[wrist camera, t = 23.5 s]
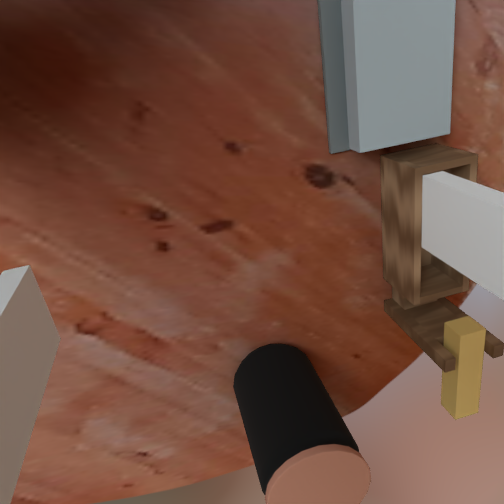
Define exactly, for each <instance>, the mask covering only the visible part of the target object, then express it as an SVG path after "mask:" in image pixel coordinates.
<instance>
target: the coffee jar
mask: <svg viewBox="0 0 504 504" xmlns="http://www.w3.org/2000/svg"><path fill="white" fill-rule="evenodd" d="M233 387H234V391H235V394H236V398H237V402H238V405H239V409H240V412H241V416H242V420H243V423H244V427H245V430H246V434H247V438H248V441H249V445H250V448H251V452H252V456H253V459H254V463H255V466H256V470H257V474H258V477H259V481H260V484H261V488H262V491H263V493H264V495H265V500H266V504H360V502H361V500H362V499H363V498H364V496H365V495H366V494H367V492H368V488H369V485H370V482H371V475H370V468H369V466H368V465H367V463H366V462H365V460H364V458H363V457H362V456H361V454H360V453H359V449H358V446H357V444H356V442H355V440H354V439H353V437H352V435H351V433H350V432H349V430H348V428H347V426H346V424H345V423H344V421H343V419H342V417H341V415H340V414H339V412H338V410H337V408H336V407H335V405H334V403H333V401H332V399H331V398H330V396H329V394H328V392H327V391H326V389H325V387H324V385H323V383H322V382H321V380H320V378H319V376H318V374H317V373H316V371H315V369H314V367H313V366H312V364H311V362H310V360H309V359H308V357H307V356H306V354H305V353H303V352H302V351H300V350H299V349H297V348H296V347H293V346H289V345H286V344H269V345H266V346H262V347H259V348H258V349H256V350H254V351H253V352H251V353H250V354H249V355H248V356H247V357H246V358H245V359H244V360H243V361H242V363H241V364H240V366H239V368H238V370H237V372H236V374H235V378H234V386H233Z"/></svg>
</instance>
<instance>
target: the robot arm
mask: <svg viewBox="0 0 504 504" xmlns="http://www.w3.org/2000/svg"><path fill="white" fill-rule="evenodd" d="M421 247H422V248H424V249H425V250H427V251H428V252H430V253H431V254H433V255H434V256H436V257H437V258H439V259H440V260H442V261H443V262H445V263H446V264H448V265H450V266H451V267H453V268H454V269H456V270H457V271H459V272H460V273H462V274H463V275H465V276H466V277H468V278H469V279H471V280H472V281H474V282H475V283H477V284H479V285H480V286H482V287H483V288H485V289H486V290H488V291H489V292H491V293H492V294H494V295H495V296H497V297H498V298H500V299H501V300H503V301H504V193H503V192H500V191H498V190H495V189H492V188H489V187H486V186H483V185H481V184H478V183H475V182H472V181H469V180H466V179H464V178H461V177H458V176H455V175H452V174H450V173H447V172H444V171H441V172H436V173H432V174H427V175H423V183H422V246H421ZM60 339H61V338H60V336H59V333H58V331H57V329H56V326H55V324H54V321H53V319H52V317H51V314H50V312H49V310H48V307H47V305H46V302H45V300H44V298H43V295H42V293H41V291H40V288H39V286H38V283H37V281H36V279H35V276H34V274H33V272H32V269H31V267H30V265H27V266H23V267H19V268H14V269H10V270H5V271H3V272H2V274H1V275H0V504H10V503H11V500H12V496H13V493H14V490H15V486H16V483H17V480H18V477H19V473H20V470H21V467H22V464H23V460H24V457H25V454H26V450H27V447H28V444H29V441H30V437H31V434H32V431H33V428H34V424H35V421H36V418H37V414H38V411H39V408H40V405H41V401H42V398H43V395H44V391H45V388H46V385H47V382H48V378H49V375H50V372H51V369H52V365H53V362H54V359H55V355H56V352H57V349H58V346H59V342H60Z"/></svg>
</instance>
